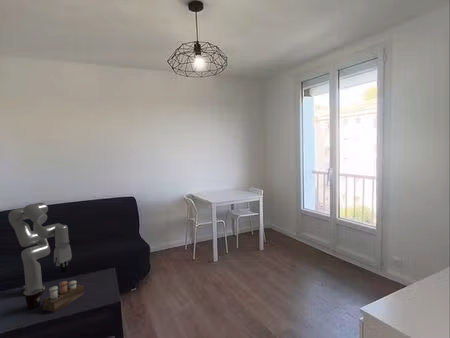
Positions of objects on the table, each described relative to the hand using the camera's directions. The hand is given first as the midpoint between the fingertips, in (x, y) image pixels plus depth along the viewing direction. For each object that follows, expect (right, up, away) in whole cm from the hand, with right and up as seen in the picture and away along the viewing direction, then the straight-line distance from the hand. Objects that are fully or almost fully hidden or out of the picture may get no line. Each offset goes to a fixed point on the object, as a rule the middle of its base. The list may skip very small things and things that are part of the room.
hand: (64, 271), depth 182 cm
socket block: (0, -19, 0) cm, 19 cm away
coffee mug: (-15, -20, -4) cm, 26 cm away
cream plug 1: (-2, -15, -7) cm, 17 cm away
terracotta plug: (0, -15, 0) cm, 15 cm away
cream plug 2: (+2, -17, +6) cm, 18 cm away
